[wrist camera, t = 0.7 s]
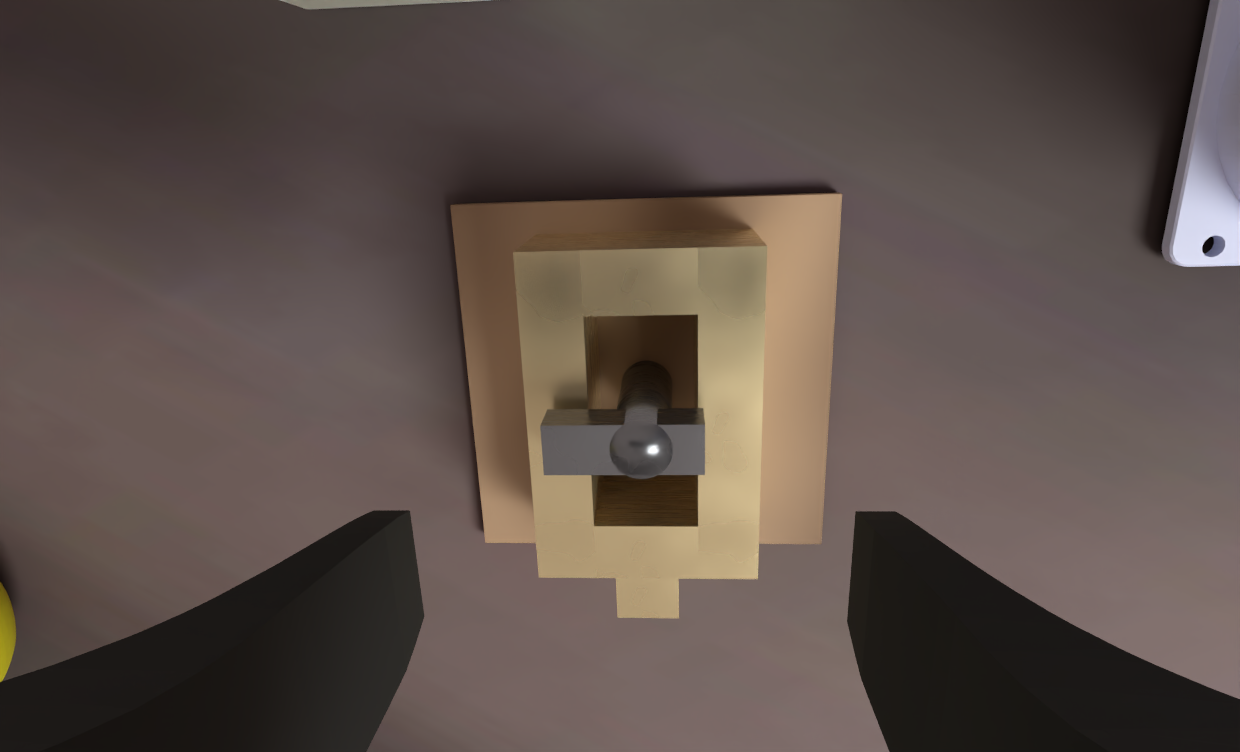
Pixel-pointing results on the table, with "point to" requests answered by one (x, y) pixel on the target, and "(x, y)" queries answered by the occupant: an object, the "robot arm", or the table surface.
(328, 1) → the tray
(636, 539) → the gold hollow block
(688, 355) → the stake base
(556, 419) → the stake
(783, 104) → the table surface
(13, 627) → the tennis ball
